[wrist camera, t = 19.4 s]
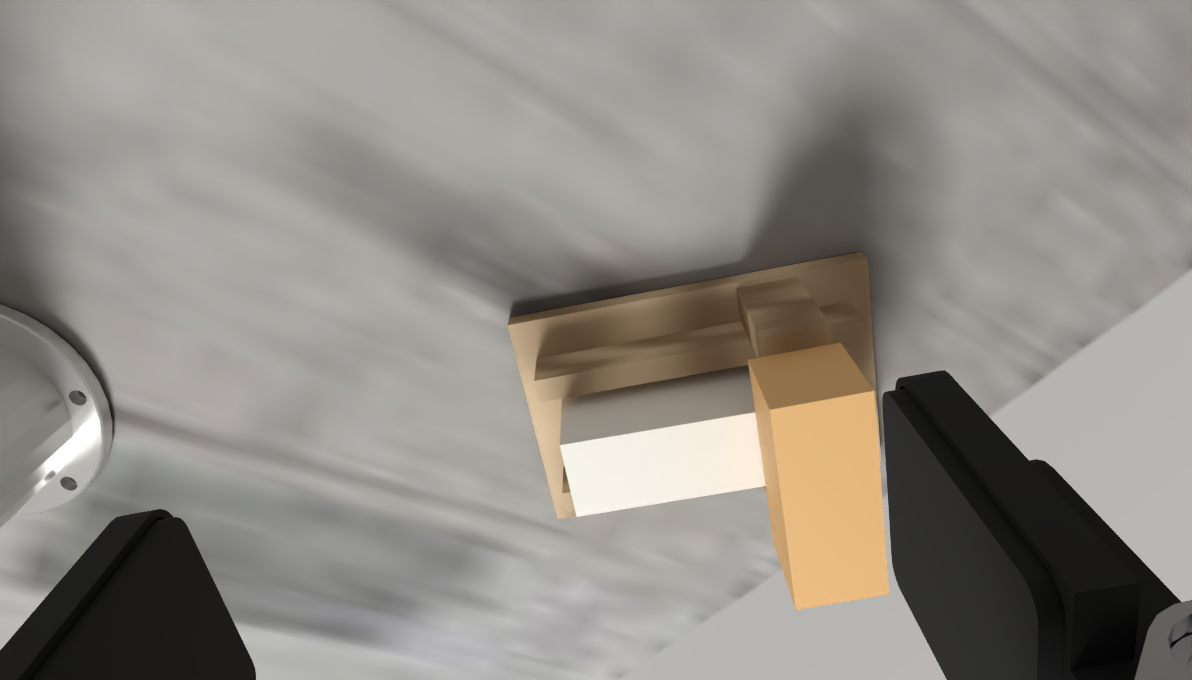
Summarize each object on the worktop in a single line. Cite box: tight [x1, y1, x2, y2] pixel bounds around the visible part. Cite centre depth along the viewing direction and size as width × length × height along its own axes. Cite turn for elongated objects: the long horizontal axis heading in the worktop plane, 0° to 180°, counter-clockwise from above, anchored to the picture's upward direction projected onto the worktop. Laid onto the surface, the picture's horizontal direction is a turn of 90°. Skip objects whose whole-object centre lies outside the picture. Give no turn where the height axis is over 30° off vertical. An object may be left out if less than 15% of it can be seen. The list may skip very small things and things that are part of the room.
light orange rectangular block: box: [748, 343, 889, 610], centre depth 36 cm, size 4×10×4 cm, turn 11°
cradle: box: [508, 252, 881, 519], centre depth 41 cm, size 18×12×7 cm, turn 101°
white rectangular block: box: [560, 365, 766, 517], centre depth 41 cm, size 14×4×6 cm, turn 100°
